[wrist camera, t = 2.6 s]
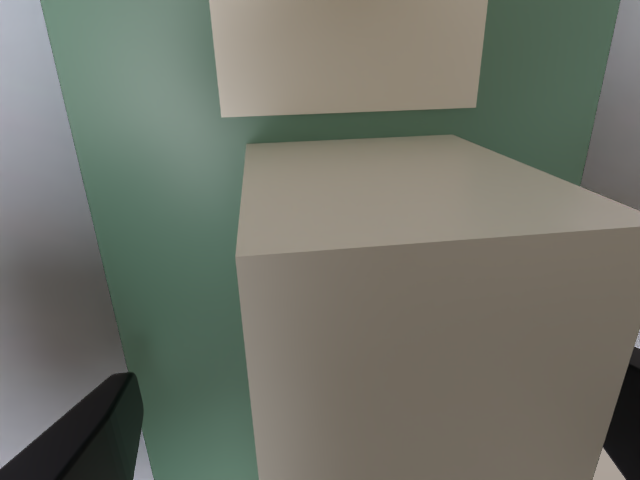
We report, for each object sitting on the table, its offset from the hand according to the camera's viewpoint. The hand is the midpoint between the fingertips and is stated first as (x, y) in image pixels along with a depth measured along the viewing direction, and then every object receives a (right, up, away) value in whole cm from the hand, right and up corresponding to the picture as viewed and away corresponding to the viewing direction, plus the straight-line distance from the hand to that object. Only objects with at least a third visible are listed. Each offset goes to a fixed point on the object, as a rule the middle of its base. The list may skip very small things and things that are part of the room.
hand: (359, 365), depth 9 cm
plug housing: (0, 0, +1) cm, 1 cm away
